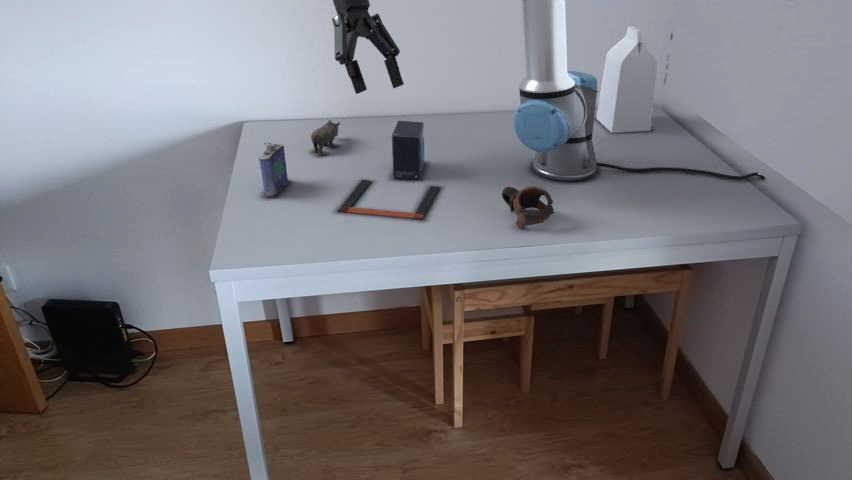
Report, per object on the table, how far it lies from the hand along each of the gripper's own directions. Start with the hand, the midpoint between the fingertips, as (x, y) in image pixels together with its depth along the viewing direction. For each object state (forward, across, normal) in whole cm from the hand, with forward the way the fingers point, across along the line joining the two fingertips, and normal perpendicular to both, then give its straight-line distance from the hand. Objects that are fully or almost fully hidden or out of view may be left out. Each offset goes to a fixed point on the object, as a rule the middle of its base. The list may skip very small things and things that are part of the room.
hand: (380, 89), depth 156 cm
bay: (+24, +11, +2) cm, 26 cm away
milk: (+25, -62, +30) cm, 74 cm away
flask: (+14, +20, -21) cm, 32 cm away
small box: (+19, -4, -2) cm, 20 cm away
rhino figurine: (+7, -6, -26) cm, 27 cm away
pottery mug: (+36, +4, +28) cm, 46 cm away
